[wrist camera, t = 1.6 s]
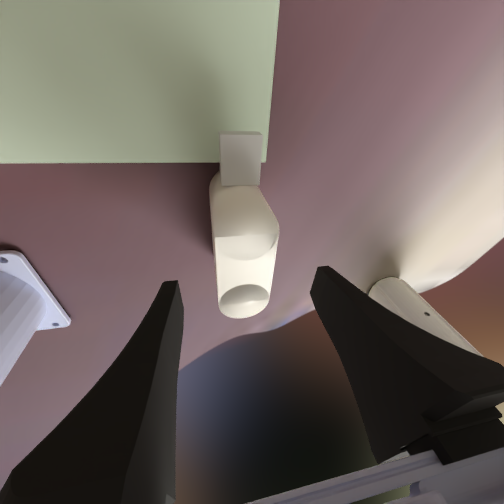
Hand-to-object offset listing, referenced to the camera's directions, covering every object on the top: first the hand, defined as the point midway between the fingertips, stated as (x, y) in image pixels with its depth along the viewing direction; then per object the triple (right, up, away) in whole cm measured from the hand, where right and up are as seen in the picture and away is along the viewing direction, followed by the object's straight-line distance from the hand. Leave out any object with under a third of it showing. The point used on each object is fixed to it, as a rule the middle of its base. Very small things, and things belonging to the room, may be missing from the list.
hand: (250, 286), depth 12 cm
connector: (-1, +5, +4) cm, 7 cm away
